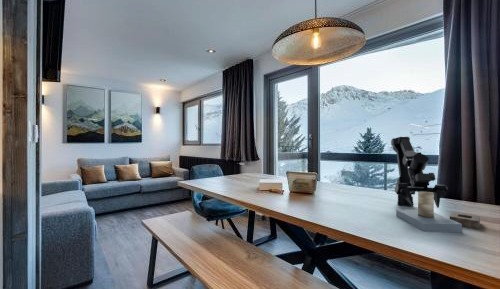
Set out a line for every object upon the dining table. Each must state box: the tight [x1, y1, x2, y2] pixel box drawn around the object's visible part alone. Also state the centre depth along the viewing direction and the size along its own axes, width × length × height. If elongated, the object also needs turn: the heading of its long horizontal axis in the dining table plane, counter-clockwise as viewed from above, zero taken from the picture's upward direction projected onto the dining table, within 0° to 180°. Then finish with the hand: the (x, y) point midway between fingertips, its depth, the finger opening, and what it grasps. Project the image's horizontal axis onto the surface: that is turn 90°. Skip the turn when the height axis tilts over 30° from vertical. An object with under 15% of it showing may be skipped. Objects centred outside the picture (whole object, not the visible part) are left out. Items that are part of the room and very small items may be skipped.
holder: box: [449, 211, 481, 230], centre depth 104 cm, size 9×9×3 cm
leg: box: [417, 191, 435, 218], centre depth 104 cm, size 6×6×13 cm
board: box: [395, 208, 463, 233], centre depth 104 cm, size 20×14×3 cm
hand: (425, 206), depth 105 cm, fingers open, 9 cm apart
